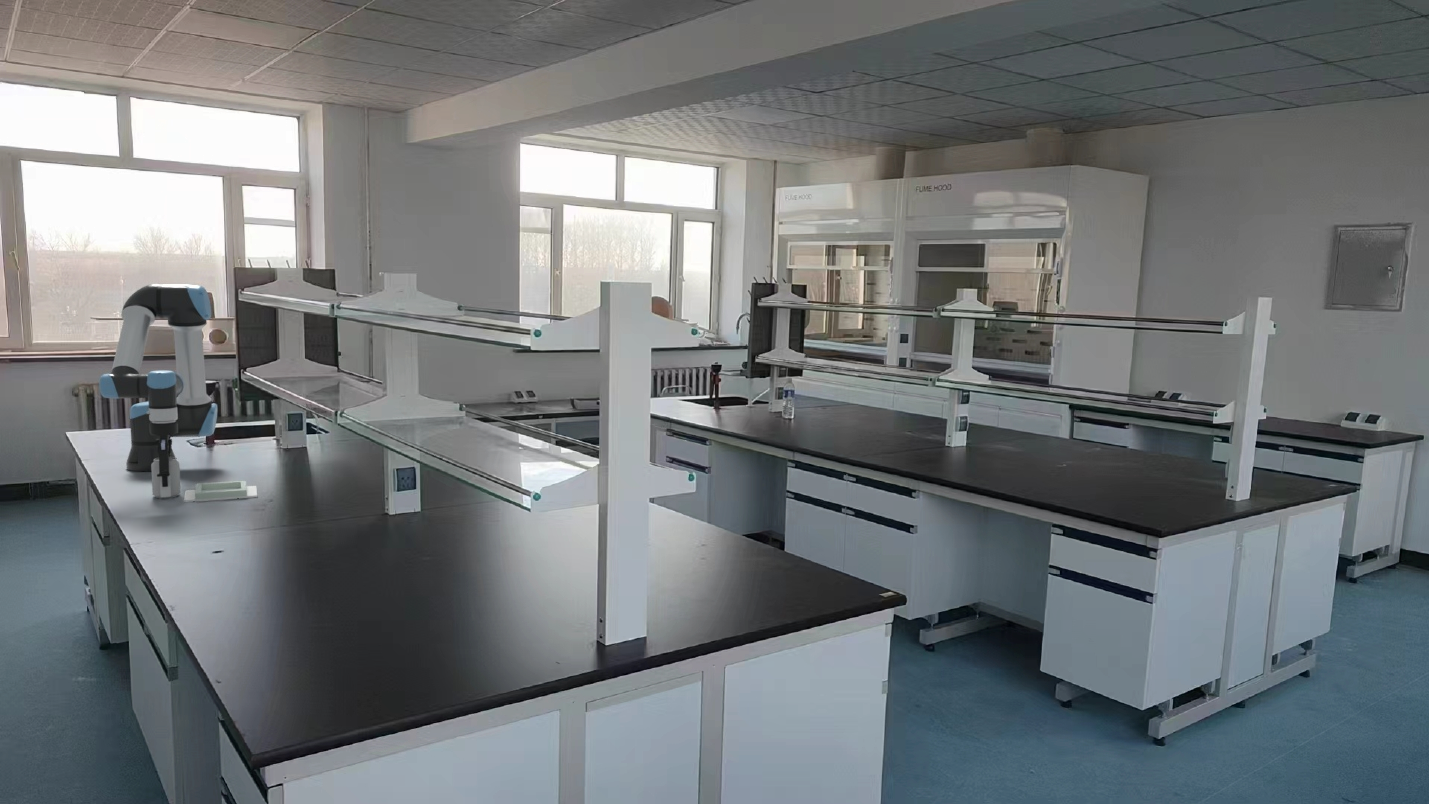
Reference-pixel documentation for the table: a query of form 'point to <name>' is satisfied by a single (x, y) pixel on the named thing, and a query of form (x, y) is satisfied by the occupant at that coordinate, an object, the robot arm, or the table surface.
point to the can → (174, 477)
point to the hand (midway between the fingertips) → (166, 493)
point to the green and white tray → (220, 491)
